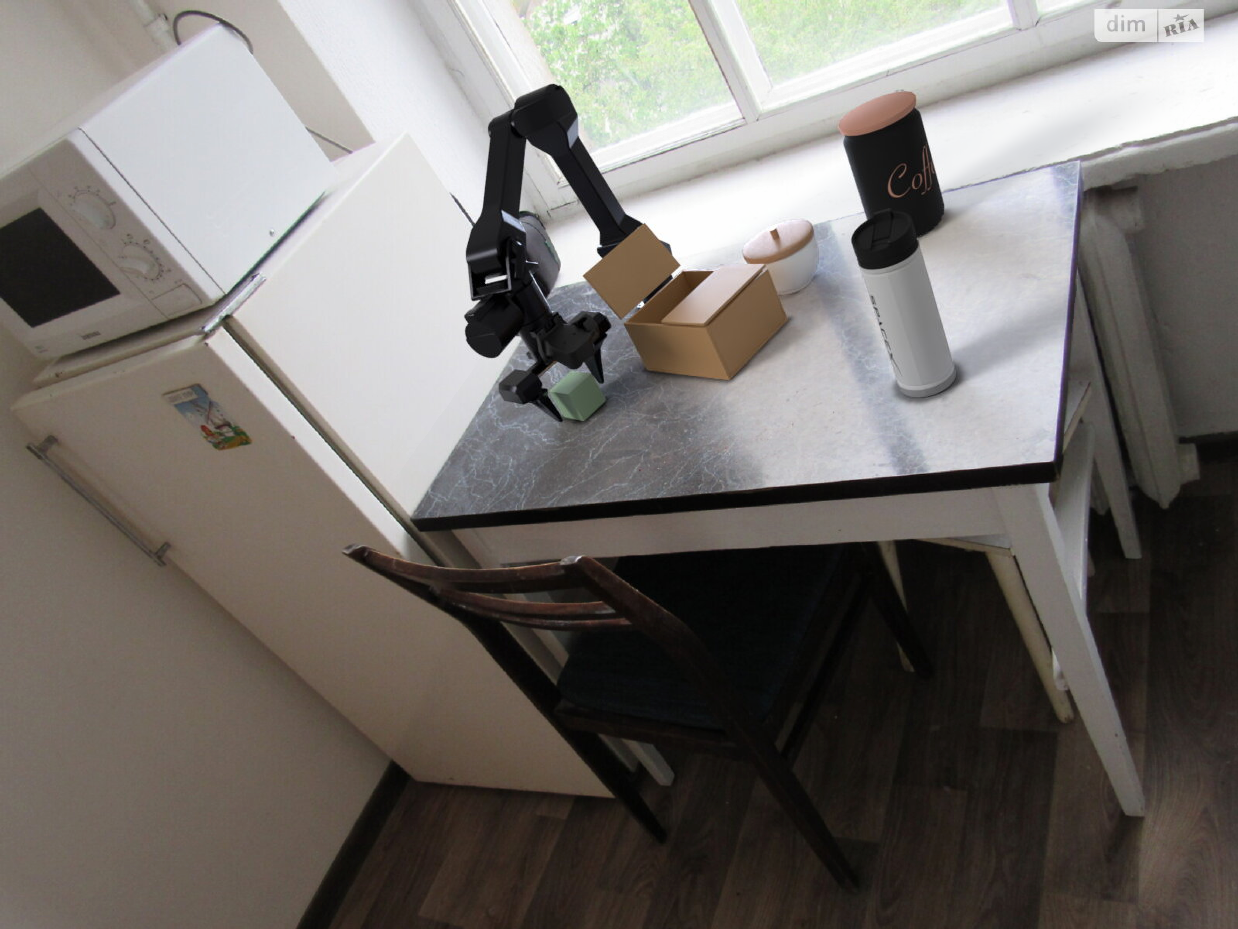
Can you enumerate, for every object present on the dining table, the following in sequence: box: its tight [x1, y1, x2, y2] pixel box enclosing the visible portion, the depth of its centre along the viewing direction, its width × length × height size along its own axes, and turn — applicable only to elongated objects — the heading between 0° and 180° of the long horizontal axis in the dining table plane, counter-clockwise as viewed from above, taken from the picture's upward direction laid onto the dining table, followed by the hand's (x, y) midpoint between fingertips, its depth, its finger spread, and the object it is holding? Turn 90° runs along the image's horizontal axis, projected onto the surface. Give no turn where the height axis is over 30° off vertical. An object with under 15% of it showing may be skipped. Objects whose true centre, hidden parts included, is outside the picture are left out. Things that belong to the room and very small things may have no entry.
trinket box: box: [741, 218, 820, 296], centre depth 128 cm, size 11×11×9 cm
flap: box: [582, 222, 681, 321], centre depth 128 cm, size 8×14×1 cm
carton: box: [623, 263, 789, 381], centre depth 124 cm, size 17×14×9 cm
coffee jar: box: [837, 90, 946, 238], centre depth 124 cm, size 11×11×18 cm
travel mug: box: [850, 208, 957, 398], centre depth 93 cm, size 6×7×20 cm
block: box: [548, 370, 607, 422], centre depth 128 cm, size 5×5×5 cm
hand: (581, 402), depth 129 cm, fingers open, 9 cm apart
